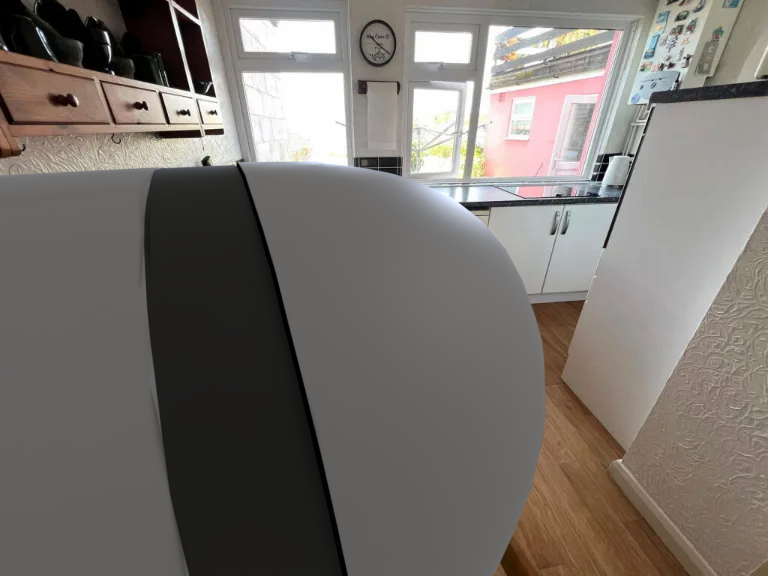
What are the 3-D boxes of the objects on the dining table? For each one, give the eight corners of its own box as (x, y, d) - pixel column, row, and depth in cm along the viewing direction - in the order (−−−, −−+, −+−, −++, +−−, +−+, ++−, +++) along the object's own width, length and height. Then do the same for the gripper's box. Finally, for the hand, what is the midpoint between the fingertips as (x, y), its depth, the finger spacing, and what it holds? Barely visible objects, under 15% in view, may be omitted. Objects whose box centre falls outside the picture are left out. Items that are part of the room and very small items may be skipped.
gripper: (147, 271, 53) (186, 379, 63) (201, 296, 44) (237, 417, 54) (192, 259, 59) (221, 359, 68) (248, 278, 49) (273, 391, 59)
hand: (228, 384), depth 61 cm, fingers closed on block, 4 cm apart
